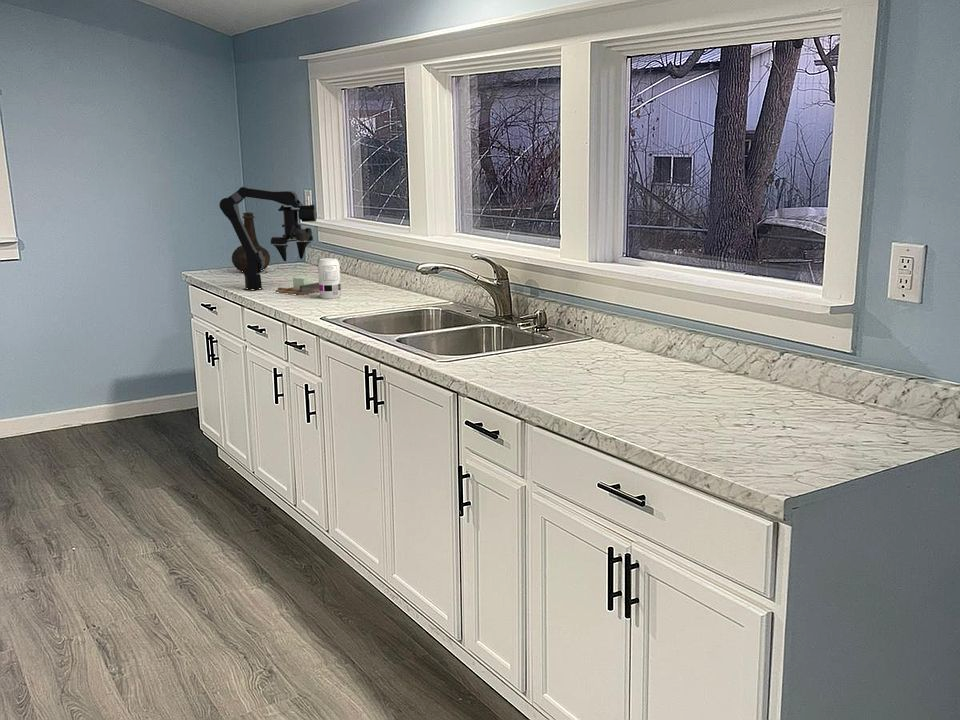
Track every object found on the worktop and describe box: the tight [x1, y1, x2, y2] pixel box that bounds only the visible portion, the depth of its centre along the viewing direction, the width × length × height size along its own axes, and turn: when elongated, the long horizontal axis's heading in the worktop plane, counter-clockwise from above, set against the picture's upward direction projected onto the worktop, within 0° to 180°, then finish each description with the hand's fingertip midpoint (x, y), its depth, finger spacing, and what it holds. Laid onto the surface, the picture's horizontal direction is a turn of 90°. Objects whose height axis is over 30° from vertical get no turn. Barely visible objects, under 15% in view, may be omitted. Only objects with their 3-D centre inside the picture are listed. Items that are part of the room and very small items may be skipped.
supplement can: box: [317, 257, 342, 300], centre depth 368 cm, size 8×8×15 cm
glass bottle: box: [231, 212, 271, 272], centre depth 448 cm, size 18×18×28 cm
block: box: [292, 275, 314, 289], centre depth 383 cm, size 6×5×5 cm
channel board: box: [275, 282, 320, 296], centre depth 384 cm, size 14×13×4 cm
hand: (293, 260), depth 392 cm, fingers open, 9 cm apart
